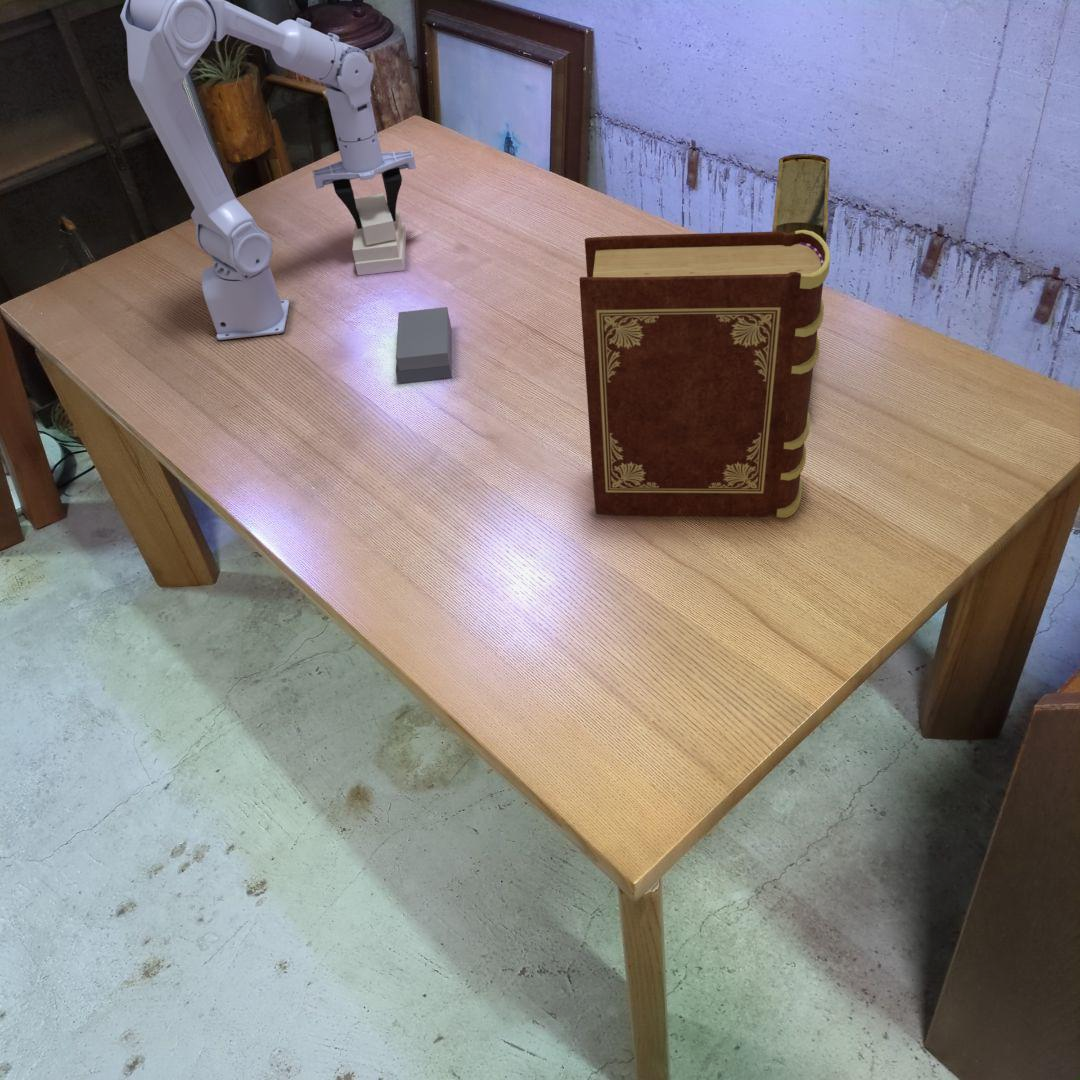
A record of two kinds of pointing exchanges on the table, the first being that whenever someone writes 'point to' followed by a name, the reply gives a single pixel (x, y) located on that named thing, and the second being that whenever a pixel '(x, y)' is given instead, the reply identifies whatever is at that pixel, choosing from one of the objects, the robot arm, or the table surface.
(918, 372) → the table surface
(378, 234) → the cream rectangular block
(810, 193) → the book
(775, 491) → the decorative book
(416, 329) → the grey stack
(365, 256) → the cream stack
